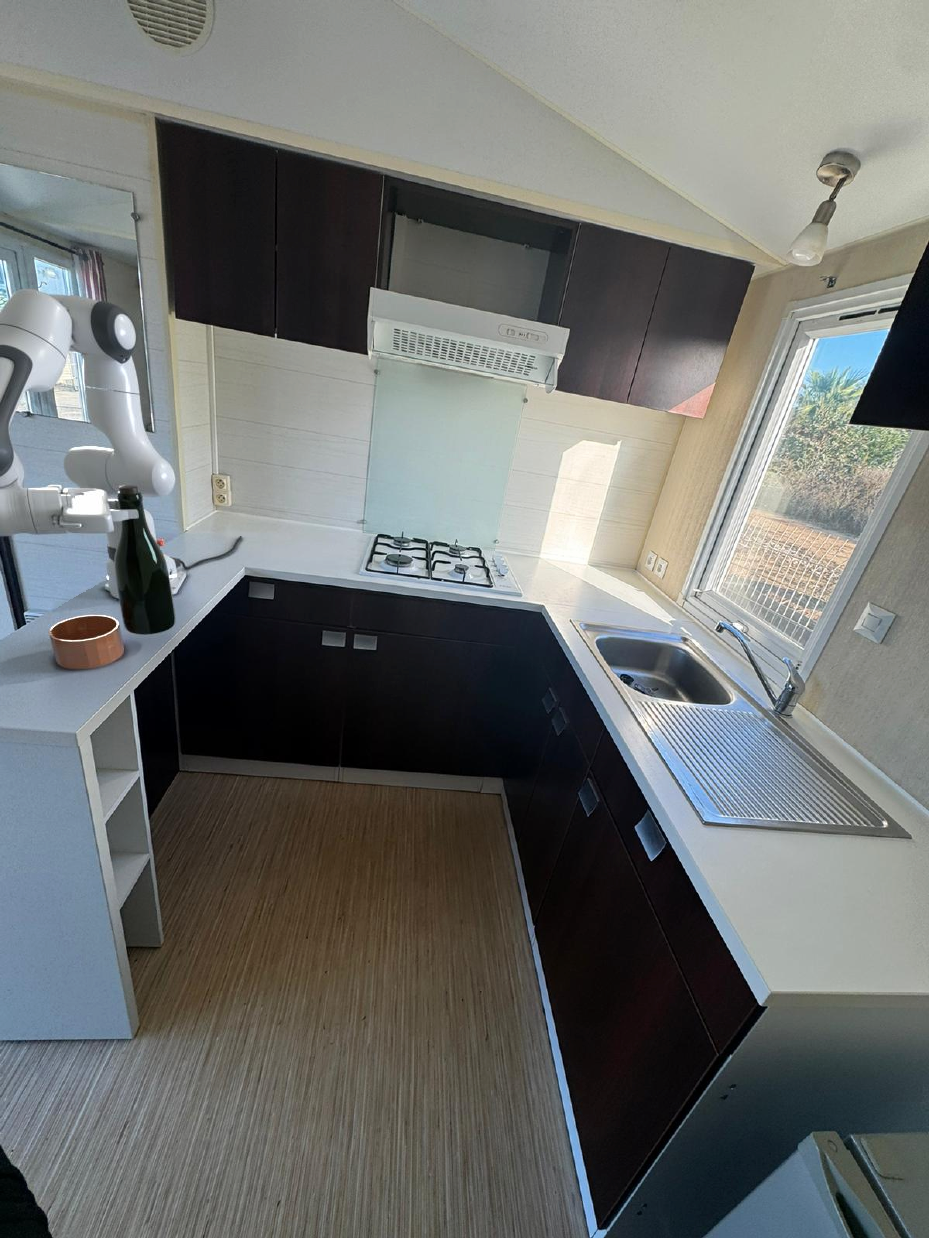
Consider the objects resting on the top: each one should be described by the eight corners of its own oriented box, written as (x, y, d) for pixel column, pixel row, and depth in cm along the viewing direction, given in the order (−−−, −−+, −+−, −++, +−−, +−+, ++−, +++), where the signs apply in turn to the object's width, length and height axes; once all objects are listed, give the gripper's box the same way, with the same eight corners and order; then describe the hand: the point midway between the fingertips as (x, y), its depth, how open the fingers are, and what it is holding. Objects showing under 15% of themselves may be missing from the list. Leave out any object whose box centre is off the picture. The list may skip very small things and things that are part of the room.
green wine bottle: (112, 629, 111) (83, 484, 96) (151, 612, 120) (129, 477, 106) (150, 640, 109) (126, 495, 95) (186, 622, 118) (169, 487, 104)
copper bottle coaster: (78, 639, 113) (72, 613, 110) (134, 643, 115) (129, 617, 112) (42, 667, 103) (34, 638, 100) (105, 671, 104) (98, 643, 101)
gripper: (47, 510, 86) (139, 508, 94) (50, 482, 101) (130, 483, 108) (55, 543, 89) (144, 539, 97) (57, 512, 103) (134, 510, 111)
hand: (136, 509), depth 103 cm, fingers closed on green wine bottle, 4 cm apart
